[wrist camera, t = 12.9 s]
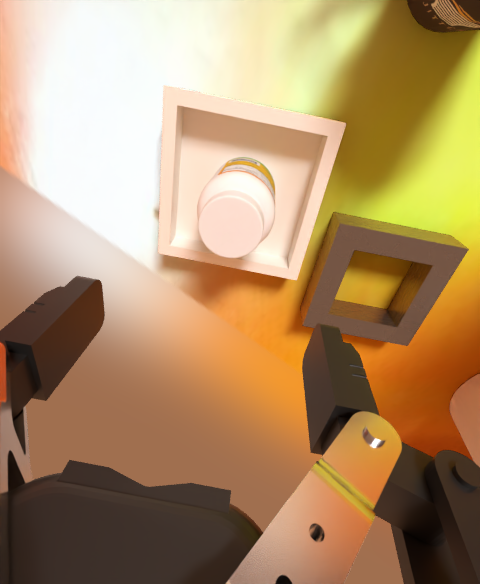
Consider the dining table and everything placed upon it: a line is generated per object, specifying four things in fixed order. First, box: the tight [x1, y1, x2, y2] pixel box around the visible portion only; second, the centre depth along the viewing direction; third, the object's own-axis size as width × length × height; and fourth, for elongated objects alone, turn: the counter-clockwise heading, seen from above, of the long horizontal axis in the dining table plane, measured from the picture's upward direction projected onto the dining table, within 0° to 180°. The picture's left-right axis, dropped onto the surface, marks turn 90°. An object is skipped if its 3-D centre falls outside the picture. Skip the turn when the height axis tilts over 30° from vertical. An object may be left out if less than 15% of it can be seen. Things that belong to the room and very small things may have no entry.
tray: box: [158, 86, 347, 280], centre depth 26 cm, size 13×13×3 cm
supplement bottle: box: [197, 157, 275, 258], centre depth 23 cm, size 5×5×10 cm
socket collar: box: [300, 212, 469, 346], centre depth 30 cm, size 11×11×3 cm
